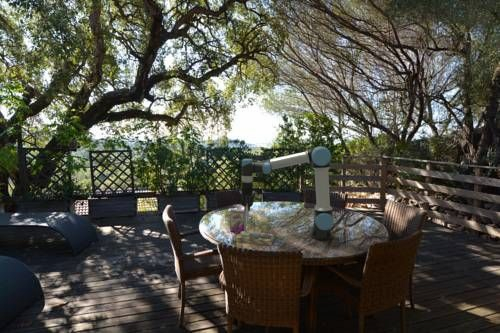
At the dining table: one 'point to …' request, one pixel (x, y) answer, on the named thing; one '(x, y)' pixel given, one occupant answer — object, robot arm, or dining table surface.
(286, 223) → the dining table surface
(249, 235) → the key sage
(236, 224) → the candy bar box
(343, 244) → the dining table surface
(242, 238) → the keypad
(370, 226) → the dining table surface
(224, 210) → the dining table surface
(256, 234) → the key slate
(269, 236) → the key charcoal
